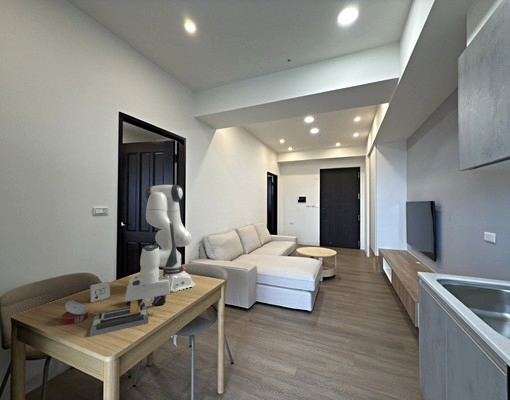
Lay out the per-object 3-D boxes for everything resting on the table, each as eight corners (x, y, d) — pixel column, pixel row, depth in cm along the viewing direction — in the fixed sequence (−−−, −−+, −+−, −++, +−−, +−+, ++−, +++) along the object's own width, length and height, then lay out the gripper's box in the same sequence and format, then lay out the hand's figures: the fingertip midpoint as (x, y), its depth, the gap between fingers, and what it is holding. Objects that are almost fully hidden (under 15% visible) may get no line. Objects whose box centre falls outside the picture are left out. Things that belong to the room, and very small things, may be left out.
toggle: (137, 312, 105) (137, 299, 105) (137, 315, 102) (137, 303, 102) (130, 313, 104) (130, 301, 104) (130, 317, 100) (130, 304, 100)
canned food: (75, 324, 105) (85, 302, 110) (88, 326, 102) (98, 303, 107) (50, 323, 96) (62, 299, 101) (63, 325, 93) (75, 300, 98)
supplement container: (152, 302, 121) (153, 284, 121) (164, 300, 124) (165, 282, 124) (153, 307, 115) (154, 288, 115) (166, 304, 118) (167, 285, 119)
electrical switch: (90, 303, 118) (91, 286, 119) (88, 301, 121) (88, 284, 122) (110, 298, 125) (110, 281, 126) (107, 296, 128) (107, 280, 129)
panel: (146, 310, 112) (146, 301, 112) (148, 322, 100) (148, 313, 100) (94, 320, 100) (94, 311, 101) (89, 336, 88) (90, 325, 89)
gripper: (170, 273, 114) (169, 299, 114) (126, 279, 104) (124, 307, 103) (172, 277, 109) (171, 304, 108) (126, 283, 99) (124, 313, 98)
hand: (148, 306), depth 106 cm, fingers closed
